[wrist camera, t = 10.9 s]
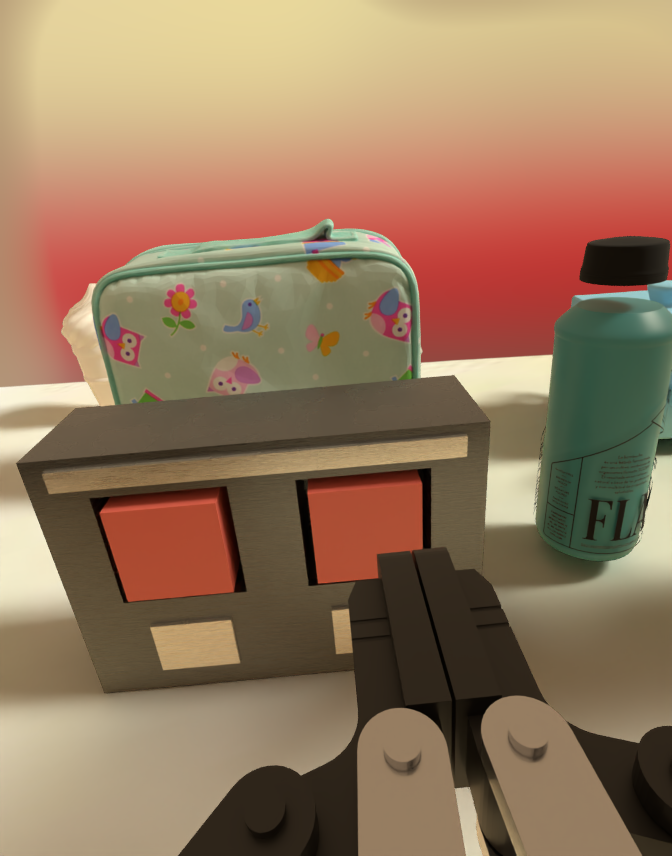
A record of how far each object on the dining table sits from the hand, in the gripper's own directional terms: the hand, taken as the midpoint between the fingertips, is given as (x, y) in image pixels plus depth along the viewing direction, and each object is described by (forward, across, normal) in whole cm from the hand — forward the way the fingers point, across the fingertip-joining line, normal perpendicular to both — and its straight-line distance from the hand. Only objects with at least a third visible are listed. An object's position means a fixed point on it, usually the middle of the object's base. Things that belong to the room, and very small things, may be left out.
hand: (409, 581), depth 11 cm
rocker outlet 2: (+13, 0, +9) cm, 16 cm away
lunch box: (+34, +6, +16) cm, 38 cm away
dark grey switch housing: (+14, +5, +16) cm, 21 cm away
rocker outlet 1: (+13, +9, +9) cm, 18 cm away
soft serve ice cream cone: (+51, +27, +16) cm, 60 cm away
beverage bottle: (+18, -14, +16) cm, 28 cm away
